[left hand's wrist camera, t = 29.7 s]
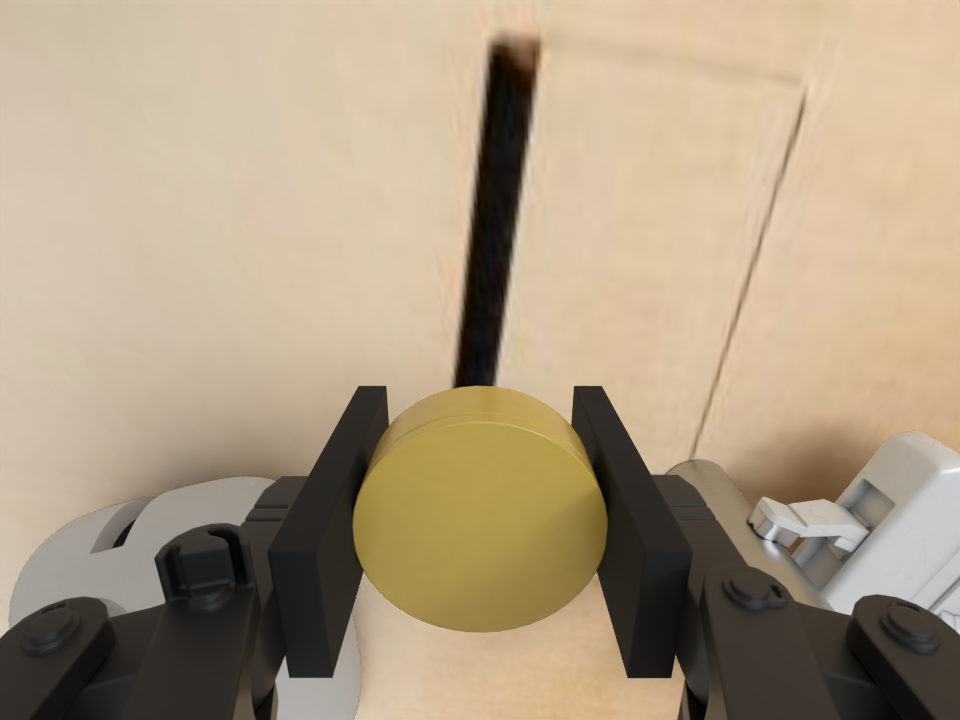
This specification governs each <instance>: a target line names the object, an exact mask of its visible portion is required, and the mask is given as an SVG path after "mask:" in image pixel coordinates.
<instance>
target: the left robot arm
mask: <svg viewBox="0 0 960 720" xmlns="http://www.w3.org/2000/svg"><path fill="white" fill-rule="evenodd" d="M571 426H572V428H573V429H574V430H575V432H576V433H577V435H578V436H579V438H580V439H581V441H582V443H583V445H584V447H585V449H586V452H587V454H588V457H589V460H590V463H591V465H592V468H593V471H594V473H595V476H596V479H597V481H598V484H599V487H600V489H601V492H602V495H603V498H604V501H605V504H606V509H607V515H608V528H607V538H606V547H605V551H604V554H603V558H602V560H601V563H600V565H599V567H598V569H597V573H598V577H599V580H600V584H601V587H602V591H603V594H604V597H605V601H606V604H607V608H608V611H609V615H610V618H611V622H612V625H613V629H614V632H615V636H616V639H617V643H618V646H619V649H620V653H621V656H622V660H623V663H624V667H625V670H626V674H627V677H628V678H671V676H672V670H673V665H674V659H675V654H676V656H677V659H678V661H679V664H680V666H681V669H682V671H683V674H684V676H685V682H684V687H683V692H682V698H681V703H680V708H679V714H678V719H677V720H960V634H959V633H958V632H957V631H956V630H954V629H953V628H952V627H951V626H949V625H948V624H947V623H946V622H944V621H943V620H942V619H941V618H940V617H938V616H937V615H935V614H933V613H931V612H930V611H928V610H926V609H924V608H922V607H921V606H919V605H917V604H914V603H912V602H909V601H906V600H903V599H900V598H897V597H893V596H886V595H880V594H875V595H868V596H863V597H862V598H860V599H859V600H858V601H857V602H856V603H855V605H854V608H853V611H852V614H851V615H847V614H843V613H839V612H835V611H830V610H826V609H822V608H818V607H813V606H809V605H806V604H803V603H800V602H797V601H795V600H794V599H793V597H792V595H791V594H790V592H789V591H788V589H787V588H786V587H785V586H784V585H783V584H781V583H780V582H779V581H778V580H777V579H776V578H774V577H773V576H771V575H769V574H767V573H765V572H763V571H762V570H760V569H758V568H755V567H751V566H748V564H747V563H746V561H745V560H744V558H743V557H742V555H741V554H740V552H739V551H738V549H737V548H736V546H735V545H734V544H733V542H732V541H731V539H730V538H729V536H728V535H727V533H726V532H725V530H724V529H723V527H722V526H721V524H720V523H719V521H718V520H716V517H715V515H714V514H713V512H712V511H711V509H710V508H709V507H707V503H706V502H705V500H704V499H703V497H702V496H701V494H700V493H699V491H698V490H697V489H696V488H695V487H694V486H693V485H691V484H690V483H689V482H687V481H686V480H684V479H683V478H682V477H680V476H679V475H651V474H650V472H649V471H648V469H647V467H646V465H645V463H644V462H643V460H642V458H641V456H640V454H639V453H638V451H637V449H636V447H635V445H634V444H633V442H632V440H631V438H630V436H629V434H628V433H627V431H626V429H625V427H624V425H623V424H622V422H621V420H620V418H619V416H618V415H617V413H616V411H615V409H614V407H613V406H612V404H611V402H610V400H609V398H608V397H607V395H606V393H605V391H604V389H603V388H602V386H574V395H573V409H572V424H571ZM388 427H389V420H388V405H387V390H386V386H358V388H357V390H356V392H355V394H354V395H353V397H352V399H351V401H350V403H349V404H348V406H347V408H346V410H345V412H344V413H343V415H342V417H341V419H340V421H339V422H338V424H337V426H336V428H335V430H334V431H333V433H332V435H331V437H330V439H329V440H328V442H327V444H326V446H325V448H324V450H323V451H322V453H321V455H320V457H319V459H318V460H317V462H316V464H315V466H314V468H313V469H312V471H311V473H310V475H309V476H282V477H281V478H280V479H278V480H277V481H276V482H274V483H273V484H272V485H270V486H269V487H267V488H266V489H265V490H264V491H263V493H262V494H261V496H260V497H259V499H258V500H257V502H256V503H255V505H254V509H251V511H250V512H249V514H248V515H247V517H246V518H245V522H242V524H241V525H240V526H237V525H234V524H230V523H212V524H207V525H204V526H200V527H196V528H193V529H190V530H188V531H186V532H184V533H182V534H180V535H178V536H176V537H175V538H173V539H172V540H171V541H169V542H168V543H167V544H165V545H164V546H163V547H162V548H161V549H160V551H159V552H158V553H157V555H156V556H155V557H154V561H155V564H156V568H157V572H158V576H159V579H160V583H161V587H162V590H163V594H164V598H165V603H164V604H161V605H158V606H155V607H151V608H148V609H143V610H139V611H135V612H131V613H126V614H122V615H118V616H114V617H110V616H109V613H108V609H107V606H106V605H105V604H104V603H103V602H102V601H101V600H99V599H98V598H92V597H86V596H82V597H76V598H69V599H64V600H61V601H58V602H56V603H53V604H50V605H47V606H45V607H43V608H41V609H39V610H37V611H36V612H34V613H32V614H30V615H28V616H27V617H25V618H23V619H22V620H21V621H20V622H18V623H17V624H16V625H15V626H13V627H12V628H11V629H10V630H9V631H7V632H6V633H5V634H4V635H3V636H2V637H1V638H0V720H277V711H278V694H277V687H276V682H275V680H276V677H277V675H278V672H279V670H280V667H281V665H282V662H283V660H284V657H286V663H287V668H288V674H289V678H333V675H334V671H335V668H336V664H337V661H338V657H339V654H340V651H341V647H342V644H343V640H344V637H345V633H346V630H347V626H348V623H349V619H350V616H351V612H352V609H353V605H354V602H355V599H356V595H357V592H358V588H359V585H360V581H361V578H362V574H363V571H364V570H363V568H362V566H361V564H360V561H359V559H358V556H357V554H356V550H355V544H354V535H353V524H352V519H353V510H354V506H355V502H356V499H357V495H358V493H359V490H360V488H361V485H362V482H363V479H364V477H365V474H366V471H367V469H368V466H369V463H370V461H371V458H372V455H373V453H374V451H375V448H376V446H377V444H378V442H379V440H380V438H381V437H382V435H383V434H384V432H385V431H386V429H387V428H388Z"/></svg>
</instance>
